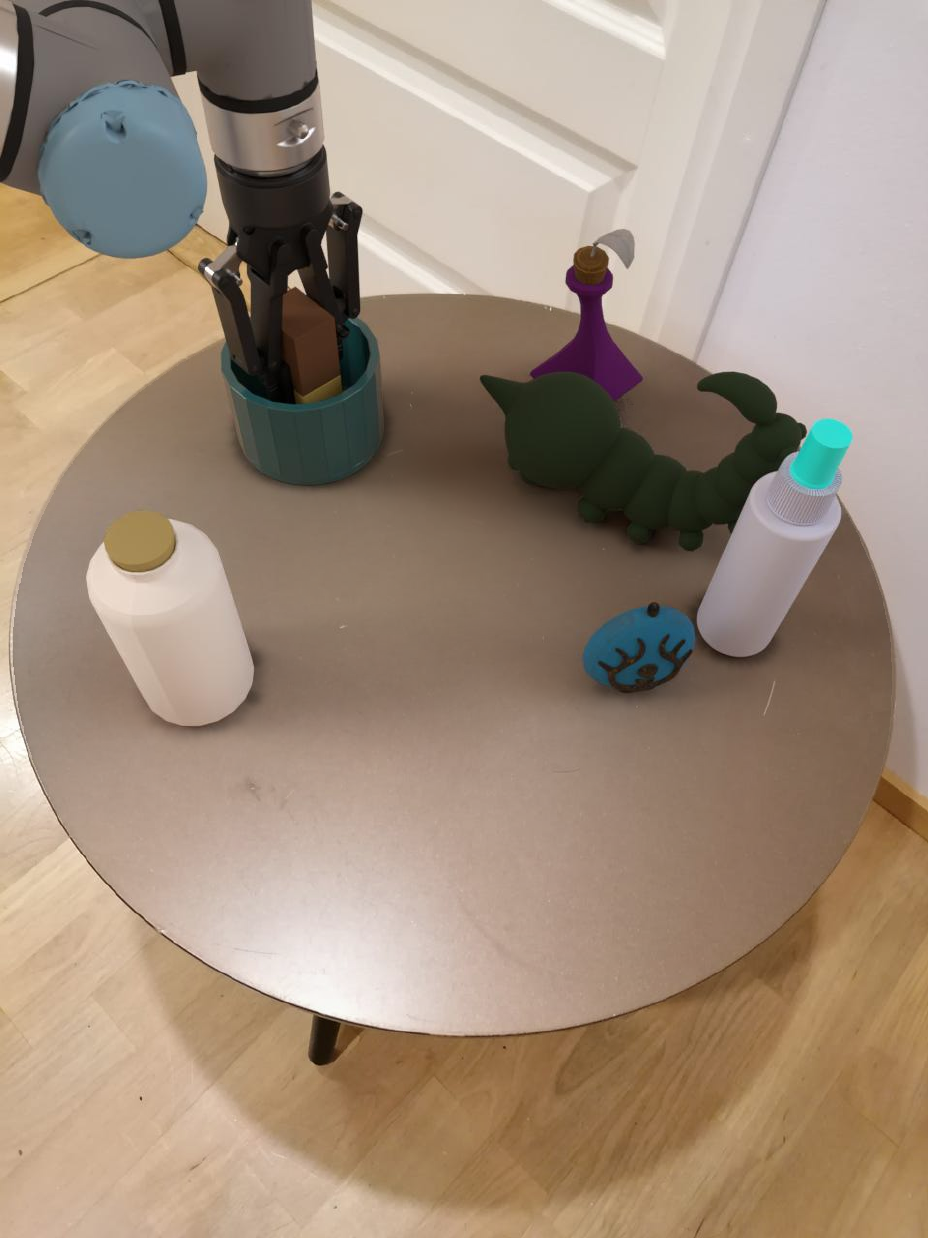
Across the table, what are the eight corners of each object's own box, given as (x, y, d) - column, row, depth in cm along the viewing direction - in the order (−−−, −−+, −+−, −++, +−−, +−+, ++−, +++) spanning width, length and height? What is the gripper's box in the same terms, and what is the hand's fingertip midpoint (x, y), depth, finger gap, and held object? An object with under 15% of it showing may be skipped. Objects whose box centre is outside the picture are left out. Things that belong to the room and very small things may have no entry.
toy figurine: (743, 525, 83) (491, 409, 86) (841, 369, 66) (526, 234, 70) (708, 604, 78) (444, 478, 82) (805, 457, 62) (469, 308, 65)
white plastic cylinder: (187, 619, 74) (124, 465, 59) (277, 661, 72) (237, 513, 57) (121, 703, 70) (36, 560, 54) (215, 750, 68) (154, 615, 53)
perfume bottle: (525, 399, 88) (545, 228, 73) (580, 362, 91) (609, 191, 76) (583, 443, 85) (616, 276, 70) (637, 404, 88) (680, 235, 73)
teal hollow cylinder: (221, 474, 82) (200, 399, 74) (260, 372, 89) (245, 293, 81) (367, 494, 81) (361, 420, 74) (395, 389, 88) (392, 311, 81)
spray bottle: (770, 602, 76) (879, 404, 58) (771, 665, 73) (886, 477, 55) (696, 590, 77) (780, 391, 58) (693, 653, 74) (782, 462, 55)
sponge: (310, 447, 82) (294, 340, 72) (276, 416, 84) (255, 307, 74) (346, 425, 84) (334, 317, 74) (311, 395, 86) (295, 285, 76)
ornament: (584, 711, 70) (605, 643, 62) (570, 658, 73) (588, 586, 64) (689, 696, 71) (724, 627, 63) (672, 645, 74) (703, 571, 65)
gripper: (194, 224, 58) (254, 477, 77) (402, 124, 64) (408, 380, 84) (127, 170, 61) (201, 427, 80) (333, 80, 67) (355, 337, 87)
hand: (307, 403), depth 82 cm, fingers closed on sponge, 4 cm apart
